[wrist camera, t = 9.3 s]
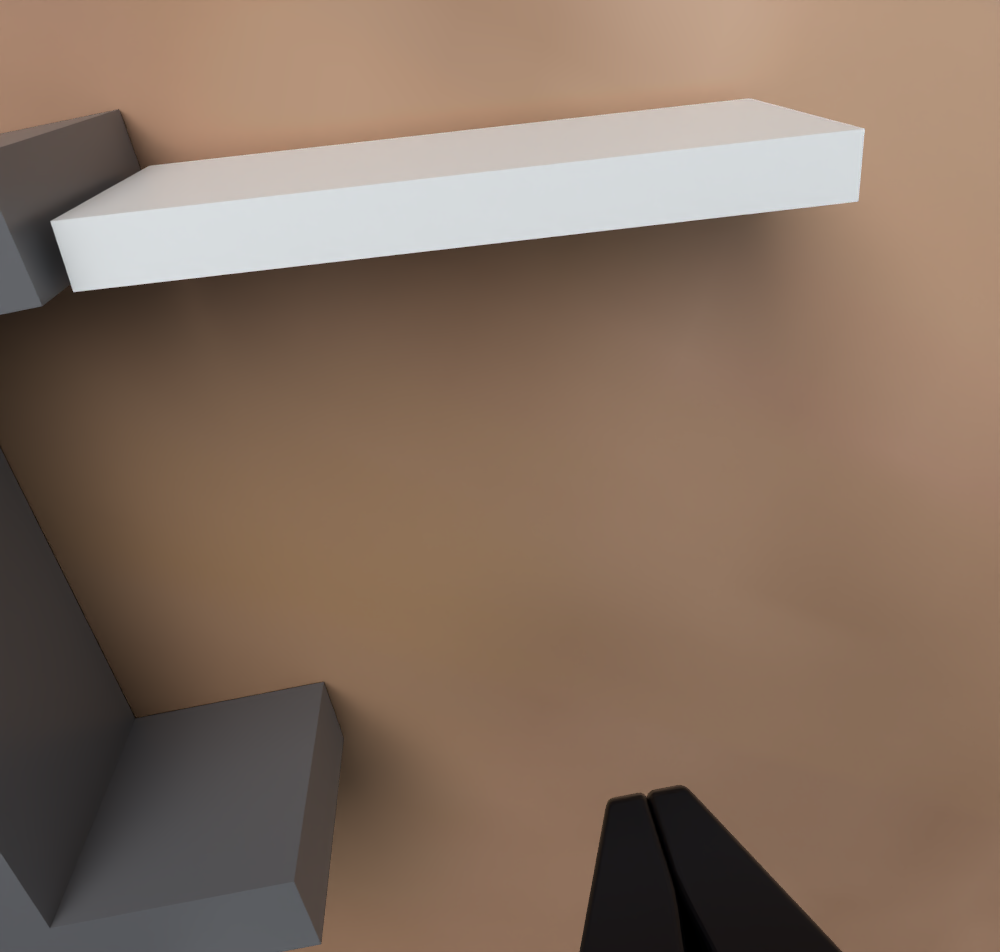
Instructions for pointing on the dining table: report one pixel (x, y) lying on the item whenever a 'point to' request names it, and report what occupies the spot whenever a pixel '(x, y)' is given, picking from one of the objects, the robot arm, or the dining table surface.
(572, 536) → the dining table surface
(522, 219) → the side door
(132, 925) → the grey hollow rectangular block
